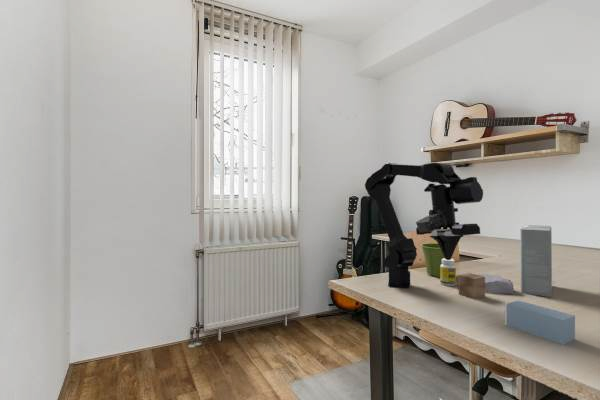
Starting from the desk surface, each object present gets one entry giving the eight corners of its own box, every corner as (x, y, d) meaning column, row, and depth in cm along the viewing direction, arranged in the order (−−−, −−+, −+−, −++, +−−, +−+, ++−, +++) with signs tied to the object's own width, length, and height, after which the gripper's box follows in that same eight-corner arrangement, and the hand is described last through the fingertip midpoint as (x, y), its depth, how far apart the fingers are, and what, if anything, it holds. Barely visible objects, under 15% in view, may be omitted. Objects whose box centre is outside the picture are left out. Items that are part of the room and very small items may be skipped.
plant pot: (414, 272, 120) (413, 243, 120) (438, 270, 123) (438, 242, 123) (435, 280, 108) (435, 248, 108) (462, 277, 112) (462, 246, 112)
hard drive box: (523, 281, 106) (523, 224, 106) (551, 285, 101) (552, 225, 101) (519, 292, 94) (520, 228, 94) (552, 298, 89) (552, 229, 89)
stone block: (483, 299, 94) (518, 294, 93) (479, 283, 94) (514, 278, 93) (468, 289, 106) (499, 284, 105) (465, 275, 106) (495, 270, 105)
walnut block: (458, 294, 93) (458, 274, 93) (469, 292, 95) (469, 273, 95) (474, 299, 88) (474, 278, 88) (485, 296, 91) (485, 276, 91)
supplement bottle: (449, 286, 101) (449, 261, 101) (437, 283, 105) (437, 258, 105) (458, 284, 103) (458, 260, 103) (446, 281, 107) (446, 257, 107)
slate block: (505, 303, 71) (563, 320, 61) (517, 299, 73) (575, 315, 63) (505, 324, 71) (563, 345, 61) (517, 320, 73) (575, 339, 63)
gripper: (399, 208, 95) (404, 259, 94) (444, 203, 77) (451, 266, 76) (429, 207, 99) (433, 256, 97) (478, 202, 81) (485, 262, 80)
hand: (448, 259), depth 87 cm, fingers closed
